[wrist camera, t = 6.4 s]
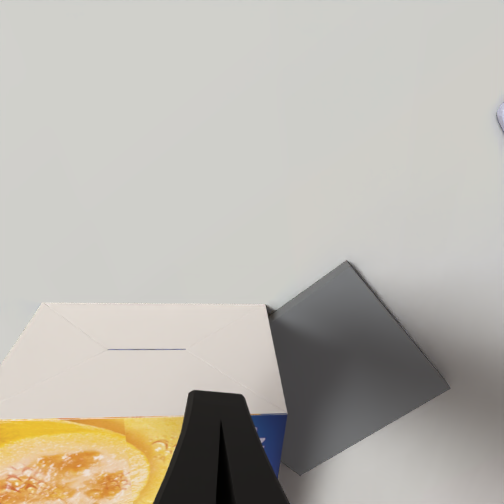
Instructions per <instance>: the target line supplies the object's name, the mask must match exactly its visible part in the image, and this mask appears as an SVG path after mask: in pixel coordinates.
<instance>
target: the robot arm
mask: <svg viewBox="0 0 504 504" xmlns="http://www.w3.org/2000/svg"><path fill="white" fill-rule="evenodd" d="M497 118H498V121H499V123H500V125H501V127H502V129H503V131H504V102H503V103H502V104H501V105H500V107H499V109H498V112H497ZM153 504H290V503H289V501H288V499H287V497H286V495H285V493H284V491H283V489H282V487H281V485H280V483H279V481H278V479H277V477H276V474H275V472H274V470H273V468H272V466H271V464H270V461H269V459H268V457H267V455H266V452H265V450H264V448H263V445H262V443H261V441H260V438H259V436H258V433H257V431H256V428H255V425H254V423H253V420H252V417H251V415H250V412H249V409H248V406H247V403H246V399H245V397H244V396H243V395H242V394H236V393H225V392H213V391H202V390H193V391H191V392H189V393H188V398H187V403H186V408H185V413H184V419H183V424H182V429H181V433H180V436H179V439H178V442H177V445H176V447H175V450H174V453H173V456H172V458H171V461H170V464H169V467H168V469H167V472H166V474H165V477H164V479H163V481H162V483H161V486H160V488H159V490H158V493H157V495H156V497H155V499H154V502H153Z"/></svg>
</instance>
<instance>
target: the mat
mask: <svg viewBox="0 0 504 504" xmlns="http://www.w3.org/2000/svg"><path fill="white" fill-rule="evenodd" d="M268 320H269V325H270V330H271V335H272V340H273V344H274V349H275V354H276V359H277V364H278V369H279V374H280V379H281V384H282V389H283V394H284V399H285V404H286V409H287V421H286V427H285V434H284V440H283V447H282V453H281V460H280V461H281V462H282V463H284V464H285V465H286V466H288V467H289V468H290V469H292V470H293V471H294V472H296V473H297V474H299V475H300V476H301V475H302V474H304V473H306V472H307V471H309V470H311V469H313V468H314V467H316V466H318V465H319V464H321V463H323V462H325V461H326V460H328V459H330V458H331V457H333V456H335V455H337V454H338V453H340V452H342V451H344V450H345V449H347V448H349V447H350V446H352V445H354V444H356V443H357V442H359V441H361V440H362V439H364V438H366V437H368V436H369V435H371V434H373V433H374V432H376V431H378V430H380V429H381V428H383V427H385V426H387V425H388V424H390V423H392V422H393V421H395V420H397V419H399V418H400V417H402V416H404V415H405V414H407V413H409V412H411V411H412V410H414V409H416V408H418V407H419V406H421V405H423V404H424V403H426V402H428V401H430V400H431V399H433V398H435V397H436V396H438V395H440V394H442V393H443V392H445V391H447V390H448V389H450V387H449V385H448V384H447V383H446V381H445V380H444V379H443V377H442V376H441V375H440V374H439V373H438V371H437V370H436V369H435V368H434V366H433V365H432V364H431V363H430V362H429V360H428V359H427V358H426V357H425V355H424V354H423V353H422V352H421V351H420V349H419V348H418V347H417V346H416V345H415V343H414V342H413V341H412V340H411V338H410V337H409V336H408V335H407V334H406V332H405V331H404V330H403V329H402V327H401V326H400V325H399V324H398V323H397V321H396V320H395V319H394V318H393V316H392V315H391V314H390V313H389V312H388V310H387V309H386V308H385V307H384V305H383V304H382V303H381V302H380V301H379V299H378V298H377V297H376V296H375V295H374V293H373V292H372V291H371V290H370V288H369V287H368V286H367V285H366V284H365V282H364V281H363V280H362V279H361V277H360V276H359V275H358V274H357V273H356V271H355V270H354V269H353V268H352V266H351V265H350V264H349V263H348V262H347V261H345V262H344V263H342V264H341V265H340V266H338V267H337V268H335V269H334V270H333V271H331V272H330V273H328V274H327V275H326V276H324V277H323V278H321V279H320V280H319V281H317V282H316V283H314V284H313V285H312V286H310V287H309V288H307V289H306V290H305V291H303V292H302V293H300V294H299V295H298V296H296V297H295V298H293V299H292V300H291V301H289V302H288V303H286V304H285V305H284V306H282V307H281V308H279V309H278V310H277V311H275V312H274V313H272V314H271V315H270V316H268Z"/></svg>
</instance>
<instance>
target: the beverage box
mask: <svg viewBox="0 0 504 504" xmlns="http://www.w3.org/2000/svg"><path fill="white" fill-rule="evenodd" d="M193 390H202V391H213V392H225V393H236V394H242V395H243V396H244V397H245V399H246V403H247V406H248V409H249V412H250V415H251V417H252V420H253V423H254V425H255V428H256V431H257V433H258V436H259V438H260V441H261V443H262V445H263V448H264V450H265V452H266V455H267V457H268V459H269V461H270V464H271V466H272V468H273V470H274V472H275V474H276V477H277V479H278V472H279V466H280V460H281V453H282V447H283V440H284V434H285V427H286V421H287V409H286V404H285V399H284V394H283V389H282V384H281V379H280V374H279V369H278V364H277V359H276V354H275V349H274V344H273V340H272V335H271V330H270V325H269V320H268V315H267V310H266V305H265V304H153V303H41V305H40V306H39V308H38V309H37V311H36V312H35V314H34V315H33V317H32V318H31V320H30V321H29V323H28V324H27V326H26V327H25V329H24V330H23V332H22V333H21V335H20V336H19V338H18V339H17V341H16V342H15V344H14V345H13V347H12V348H11V350H10V351H9V353H8V354H7V356H6V357H5V359H4V360H3V362H2V363H1V365H0V504H153V502H154V499H155V497H156V495H157V493H158V490H159V488H160V486H161V483H162V481H163V479H164V477H165V474H166V472H167V469H168V467H169V464H170V461H171V458H172V456H173V453H174V450H175V447H176V445H177V442H178V439H179V436H180V433H181V429H182V424H183V419H184V413H185V408H186V403H187V398H188V393H189V392H191V391H193Z"/></svg>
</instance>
